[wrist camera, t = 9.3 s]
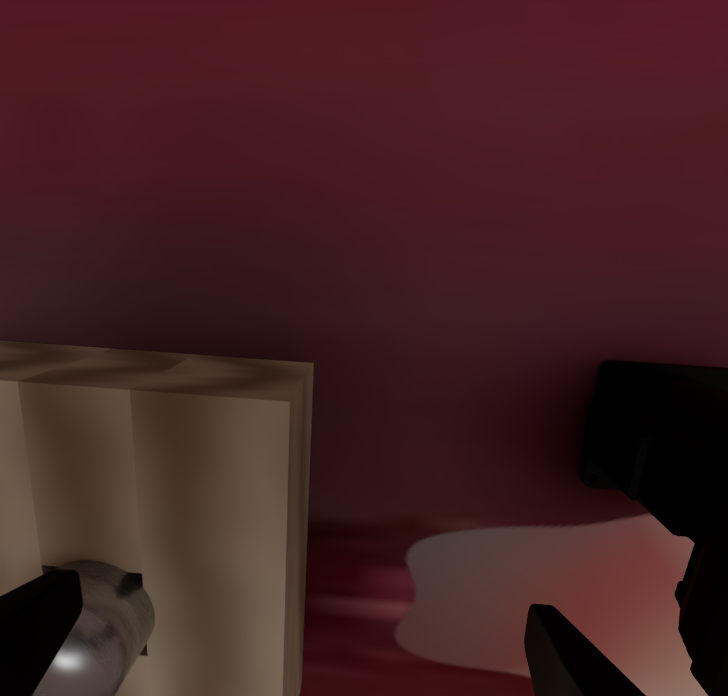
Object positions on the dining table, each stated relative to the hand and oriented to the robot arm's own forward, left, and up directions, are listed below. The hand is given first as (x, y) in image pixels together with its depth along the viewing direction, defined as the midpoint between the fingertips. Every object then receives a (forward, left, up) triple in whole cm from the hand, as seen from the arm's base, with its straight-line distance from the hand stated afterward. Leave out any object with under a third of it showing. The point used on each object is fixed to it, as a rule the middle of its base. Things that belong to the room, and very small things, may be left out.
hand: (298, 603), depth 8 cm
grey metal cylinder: (+10, +8, -12) cm, 18 cm away
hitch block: (+10, +9, -13) cm, 18 cm away
